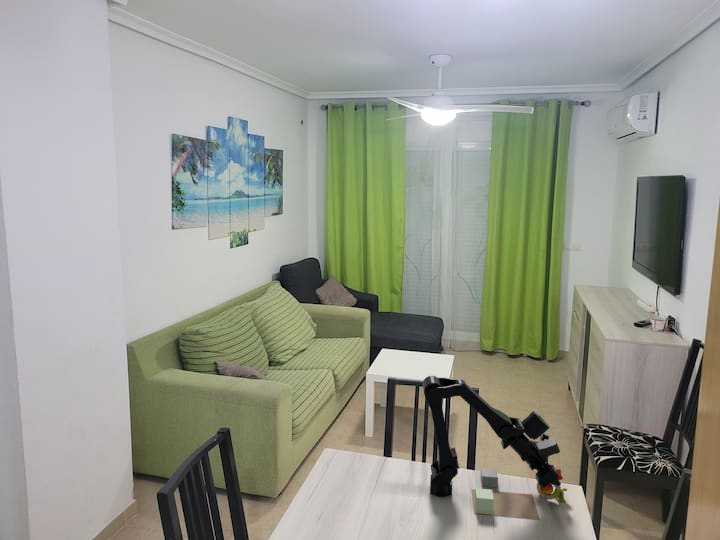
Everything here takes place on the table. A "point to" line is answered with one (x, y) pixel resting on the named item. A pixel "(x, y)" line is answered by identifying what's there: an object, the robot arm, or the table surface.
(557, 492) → the bird rattle
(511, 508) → the walnut board
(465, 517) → the table surface
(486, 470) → the grey block
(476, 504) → the sage block
